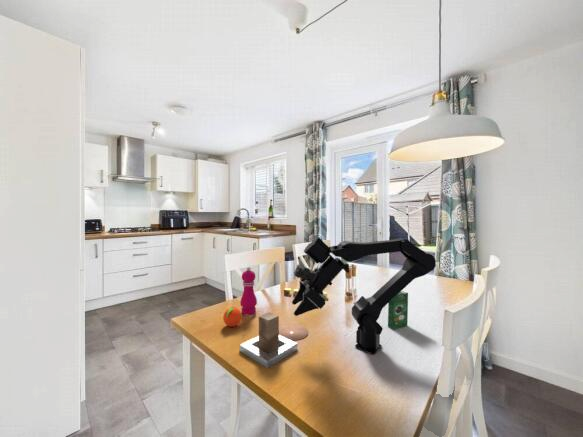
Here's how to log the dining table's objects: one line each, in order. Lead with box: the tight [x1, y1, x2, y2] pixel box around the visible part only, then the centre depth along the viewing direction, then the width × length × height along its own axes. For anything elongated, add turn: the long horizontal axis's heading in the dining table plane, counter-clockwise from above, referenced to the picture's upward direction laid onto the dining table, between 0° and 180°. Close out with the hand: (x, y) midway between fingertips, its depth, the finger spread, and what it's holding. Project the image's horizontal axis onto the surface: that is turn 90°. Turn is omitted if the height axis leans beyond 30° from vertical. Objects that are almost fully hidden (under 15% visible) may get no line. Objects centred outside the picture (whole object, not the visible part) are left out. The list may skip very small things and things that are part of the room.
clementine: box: [223, 307, 243, 328], centre depth 96 cm, size 8×7×7 cm
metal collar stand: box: [239, 335, 298, 369], centre depth 79 cm, size 13×13×2 cm
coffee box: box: [387, 290, 409, 330], centre depth 96 cm, size 8×3×13 cm, turn 115°
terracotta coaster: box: [279, 324, 309, 341], centre depth 91 cm, size 11×11×1 cm
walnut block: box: [258, 311, 280, 354], centre depth 79 cm, size 4×4×11 cm
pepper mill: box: [239, 266, 258, 316], centre depth 109 cm, size 7×7×20 cm
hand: (293, 309), depth 79 cm, fingers open, 9 cm apart
